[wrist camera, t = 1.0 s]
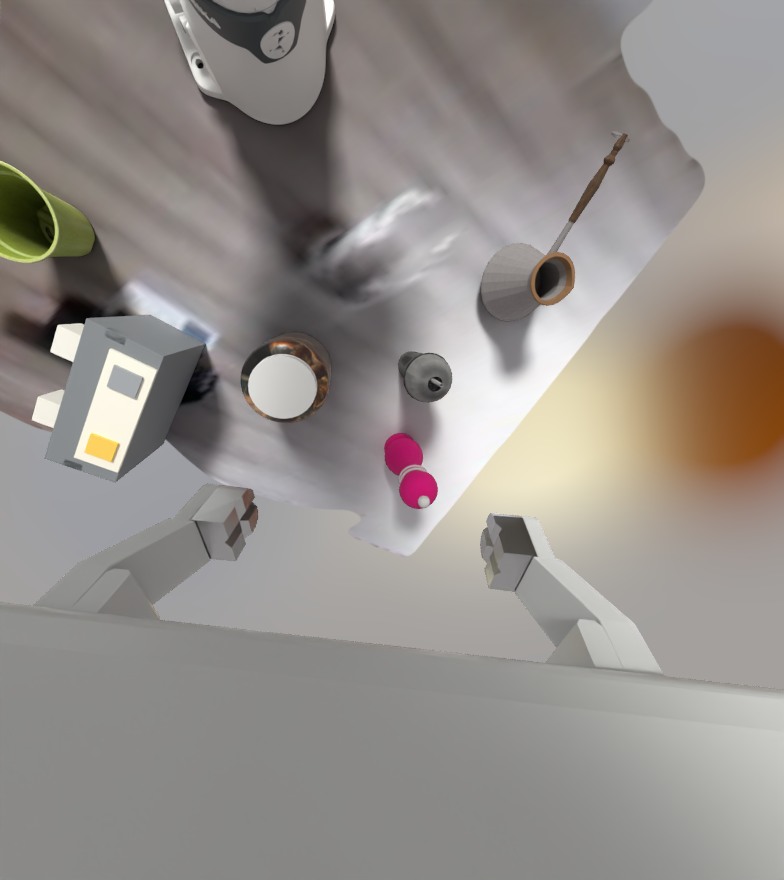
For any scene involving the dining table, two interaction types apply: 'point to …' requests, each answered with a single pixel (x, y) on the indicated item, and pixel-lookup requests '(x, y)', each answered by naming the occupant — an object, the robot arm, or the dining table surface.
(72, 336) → the button
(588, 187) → the coffee pot
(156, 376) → the console
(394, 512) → the dining table surface
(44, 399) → the button
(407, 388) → the beverage cup
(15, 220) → the plant pot
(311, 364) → the jar
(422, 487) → the pepper mill
